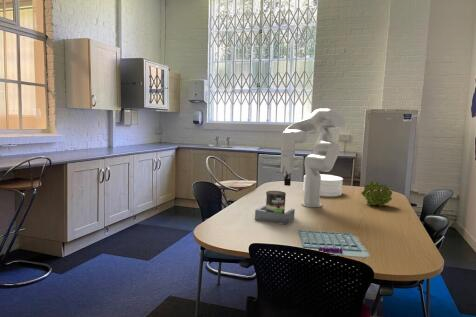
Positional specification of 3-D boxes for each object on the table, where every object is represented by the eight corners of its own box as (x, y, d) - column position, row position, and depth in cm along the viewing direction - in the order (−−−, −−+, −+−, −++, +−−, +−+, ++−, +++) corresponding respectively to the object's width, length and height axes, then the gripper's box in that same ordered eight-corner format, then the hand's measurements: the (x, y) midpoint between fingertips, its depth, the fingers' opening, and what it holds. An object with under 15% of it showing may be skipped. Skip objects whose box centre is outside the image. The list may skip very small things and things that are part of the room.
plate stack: (295, 189, 274) (296, 174, 273) (325, 187, 286) (326, 173, 285) (318, 197, 249) (319, 181, 248) (350, 195, 261) (351, 179, 260)
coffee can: (287, 221, 189) (288, 194, 187) (268, 221, 186) (269, 194, 185) (280, 215, 199) (282, 190, 197) (262, 216, 196) (263, 190, 195)
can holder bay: (265, 213, 202) (265, 204, 201) (294, 218, 194) (294, 209, 194) (254, 219, 190) (255, 209, 189) (285, 224, 182) (286, 214, 182)
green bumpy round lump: (382, 194, 243) (397, 182, 230) (383, 214, 234) (398, 202, 221) (358, 185, 242) (372, 172, 229) (357, 204, 232) (372, 192, 219)
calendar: (356, 236, 170) (357, 231, 169) (373, 259, 142) (374, 253, 141) (298, 233, 172) (298, 228, 172) (304, 255, 144) (304, 249, 144)
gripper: (286, 151, 210) (285, 182, 213) (276, 154, 197) (276, 187, 200) (298, 152, 207) (297, 183, 210) (289, 155, 194) (289, 188, 197)
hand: (287, 185), depth 205 cm, fingers closed
